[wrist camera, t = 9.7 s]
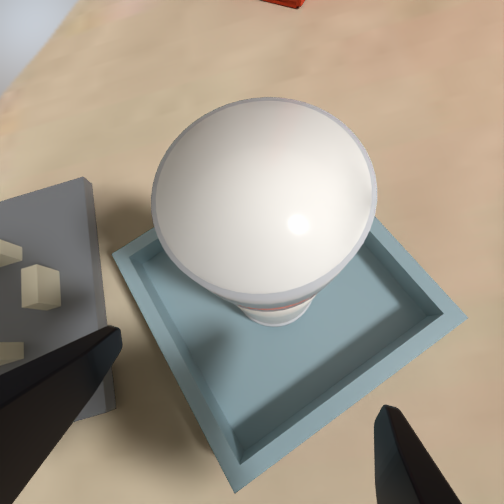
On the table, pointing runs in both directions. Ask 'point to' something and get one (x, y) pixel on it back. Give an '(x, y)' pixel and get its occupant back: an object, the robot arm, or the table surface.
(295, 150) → the white cylinder
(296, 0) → the file binder
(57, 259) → the board
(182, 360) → the tray
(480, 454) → the table surface
